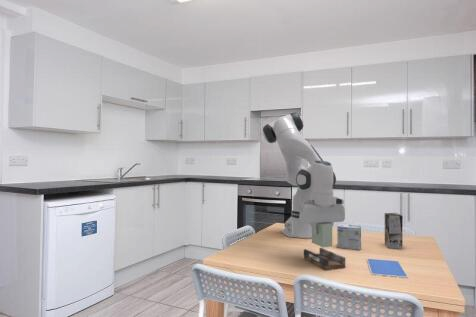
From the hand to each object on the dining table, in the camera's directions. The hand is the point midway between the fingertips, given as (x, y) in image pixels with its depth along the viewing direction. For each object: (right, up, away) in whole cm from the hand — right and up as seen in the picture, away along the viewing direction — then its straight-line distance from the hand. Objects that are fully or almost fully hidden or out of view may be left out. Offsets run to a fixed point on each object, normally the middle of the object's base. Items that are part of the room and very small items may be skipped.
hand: (322, 233), depth 134 cm
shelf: (+1, -12, 0) cm, 12 cm away
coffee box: (+43, -13, +27) cm, 52 cm away
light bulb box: (+20, -13, +25) cm, 35 cm away
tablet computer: (+23, -13, -7) cm, 28 cm away
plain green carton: (0, -5, 0) cm, 5 cm away
